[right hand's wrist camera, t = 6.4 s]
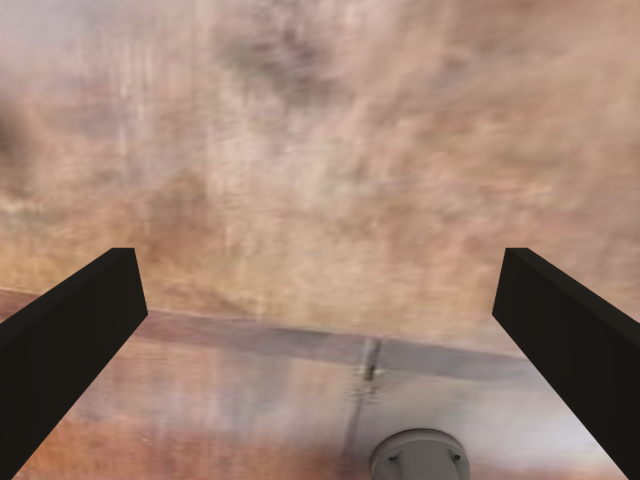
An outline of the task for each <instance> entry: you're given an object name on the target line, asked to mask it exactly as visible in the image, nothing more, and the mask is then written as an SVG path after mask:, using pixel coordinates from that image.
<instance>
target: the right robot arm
mask: <svg viewBox="0 0 640 480" xmlns="http://www.w3.org/2000/svg"><path fill="white" fill-rule="evenodd" d="M147 315H148V311H147V307H146V302H145V297H144V292H143V288H142V283H141V278H140V273H139V269H138V264H137V259H136V254H135V250H134V248H111V249H110V250H108V251H107V252H106V253H104V254H103V255H101V256H100V257H98V258H97V259H95V260H94V261H92V262H91V263H89V264H88V265H86V266H85V267H83V268H82V269H80V270H79V271H77V272H76V273H74V274H73V275H71V276H70V277H69V278H67V279H66V280H64V281H63V282H61V283H60V284H58V285H57V286H55V287H54V288H52V289H51V290H49V291H48V292H46V293H45V294H43V295H42V296H40V297H39V298H37V299H36V300H35V301H33V302H32V303H30V304H29V305H27V306H26V307H24V308H23V309H21V310H20V311H18V312H17V313H15V314H14V315H12V316H11V317H9V318H8V319H6V320H5V321H3V322H2V323H1V324H0V480H11V479H12V478H13V477H14V476H15V475H16V473H17V472H18V471H19V470H20V468H21V467H22V466H23V465H24V464H25V462H26V461H27V460H28V459H29V458H30V456H31V455H32V454H33V453H34V452H35V450H36V449H37V448H38V447H39V446H40V444H41V443H42V442H43V441H44V440H45V438H46V437H47V436H48V435H49V434H50V432H51V431H52V430H53V429H54V427H55V426H56V425H57V424H58V423H59V421H60V420H61V419H62V418H63V417H64V415H65V414H66V413H67V412H68V411H69V409H70V408H71V407H72V406H73V405H74V403H75V402H76V401H77V400H78V399H79V397H80V396H81V395H82V394H83V393H84V391H85V390H86V389H87V388H88V387H89V385H90V384H91V383H92V382H93V380H94V379H95V378H96V377H97V376H98V374H99V373H100V372H101V371H102V370H103V368H104V367H105V366H106V365H107V364H108V362H109V361H110V360H111V359H112V358H113V356H114V355H115V354H116V353H117V352H118V350H119V349H120V348H121V347H122V346H123V344H124V343H125V342H126V341H127V339H128V338H129V337H130V336H131V335H132V333H133V332H134V331H135V330H136V329H137V327H138V326H139V325H140V324H141V323H142V321H143V320H144V319H145V318H146V317H147ZM492 315H493V317H494V318H495V319H496V320H497V321H498V323H499V324H500V325H501V326H502V327H503V329H504V330H505V331H506V332H507V333H508V335H509V336H510V337H511V338H512V339H513V341H514V342H515V343H516V344H517V346H518V347H519V348H520V349H521V350H522V352H523V353H524V354H525V355H526V356H527V358H528V359H529V360H530V361H531V362H532V364H533V365H534V366H535V367H536V368H537V370H538V371H539V372H540V373H541V374H542V376H543V377H544V378H545V379H546V380H547V382H548V383H549V384H550V385H551V387H552V388H553V389H554V390H555V391H556V393H557V394H558V395H559V396H560V397H561V399H562V400H563V401H564V402H565V403H566V405H567V406H568V407H569V408H570V409H571V411H572V412H573V413H574V414H575V415H576V417H577V418H578V419H579V420H580V421H581V423H582V424H583V425H584V426H585V427H586V429H587V430H588V431H589V432H590V434H591V435H592V436H593V437H594V438H595V440H596V441H597V442H598V443H599V444H600V446H601V447H602V448H603V449H604V450H605V452H606V453H607V454H608V455H609V456H610V458H611V459H612V460H613V461H614V462H615V464H616V465H617V466H618V467H619V468H620V470H621V471H622V472H623V473H624V475H625V476H626V477H627V478H628V479H629V480H640V323H639V322H637V321H635V320H634V319H632V318H631V317H629V316H628V315H626V314H625V313H623V312H622V311H620V310H619V309H617V308H616V307H614V306H613V305H611V304H610V303H608V302H607V301H605V300H604V299H603V298H601V297H600V296H598V295H597V294H595V293H594V292H592V291H591V290H589V289H588V288H586V287H585V286H583V285H582V284H580V283H579V282H577V281H576V280H574V279H573V278H571V277H570V276H568V275H567V274H566V273H564V272H563V271H561V270H560V269H558V268H557V267H555V266H554V265H552V264H551V263H549V262H548V261H546V260H545V259H543V258H542V257H540V256H539V255H537V254H536V253H534V252H533V251H532V250H530V249H529V248H506V250H505V254H504V259H503V264H502V269H501V273H500V278H499V283H498V288H497V292H496V297H495V302H494V307H493V311H492ZM370 470H371V477H372V480H471V479H470V467H469V463H468V460H467V458H466V455H465V453H464V450H463V448H462V447H461V445H460V444H459V443H458V442H457V441H456V440H455V439H454V438H452V437H451V436H449V435H447V434H445V433H442V432H438V431H434V430H423V429H421V430H411V431H406V432H402V433H399V434H397V435H394V436H392V437H390V438H389V439H387V440H386V441H384V442H383V443H382V444H381V445H380V446H379V447H378V448H377V449H376V450H375V452H374V454H373V455H372V458H371V462H370Z"/></svg>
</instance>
